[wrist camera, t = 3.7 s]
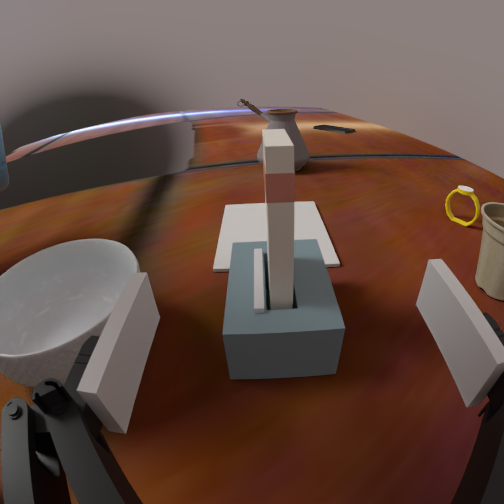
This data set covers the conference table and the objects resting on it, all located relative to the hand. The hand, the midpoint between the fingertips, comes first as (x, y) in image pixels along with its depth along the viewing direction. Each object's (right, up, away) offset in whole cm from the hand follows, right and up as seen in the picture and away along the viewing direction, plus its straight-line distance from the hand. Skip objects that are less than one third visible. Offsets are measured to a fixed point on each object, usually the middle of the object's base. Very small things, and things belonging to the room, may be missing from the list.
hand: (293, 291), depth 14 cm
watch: (+31, +6, +29) cm, 43 cm away
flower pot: (+27, -2, +15) cm, 31 cm away
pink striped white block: (0, -4, +13) cm, 14 cm away
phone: (+29, +47, +98) cm, 113 cm away
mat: (+1, +4, +29) cm, 29 cm away
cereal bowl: (-19, -7, +12) cm, 23 cm away
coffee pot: (+2, +22, +58) cm, 62 cm away
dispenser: (+1, -5, +14) cm, 14 cm away
